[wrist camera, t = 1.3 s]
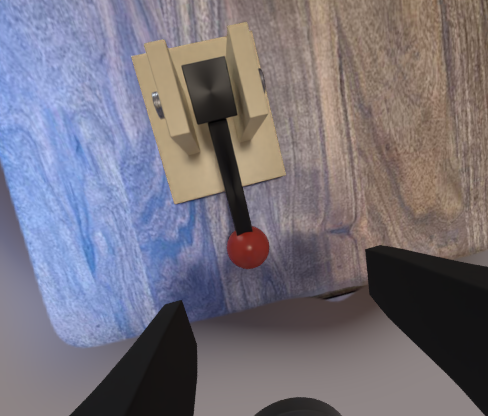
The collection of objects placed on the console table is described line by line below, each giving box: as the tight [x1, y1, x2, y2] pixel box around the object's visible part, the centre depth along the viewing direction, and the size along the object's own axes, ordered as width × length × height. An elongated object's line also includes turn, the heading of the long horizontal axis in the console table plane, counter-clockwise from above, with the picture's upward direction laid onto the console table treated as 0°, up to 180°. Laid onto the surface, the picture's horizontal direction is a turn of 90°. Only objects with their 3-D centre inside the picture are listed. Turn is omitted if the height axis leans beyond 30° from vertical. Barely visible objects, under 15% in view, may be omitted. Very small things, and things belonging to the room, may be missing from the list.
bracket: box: [131, 22, 286, 204], centre depth 15 cm, size 11×9×8 cm
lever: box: [181, 56, 269, 269], centre depth 15 cm, size 13×3×3 cm, turn 15°
